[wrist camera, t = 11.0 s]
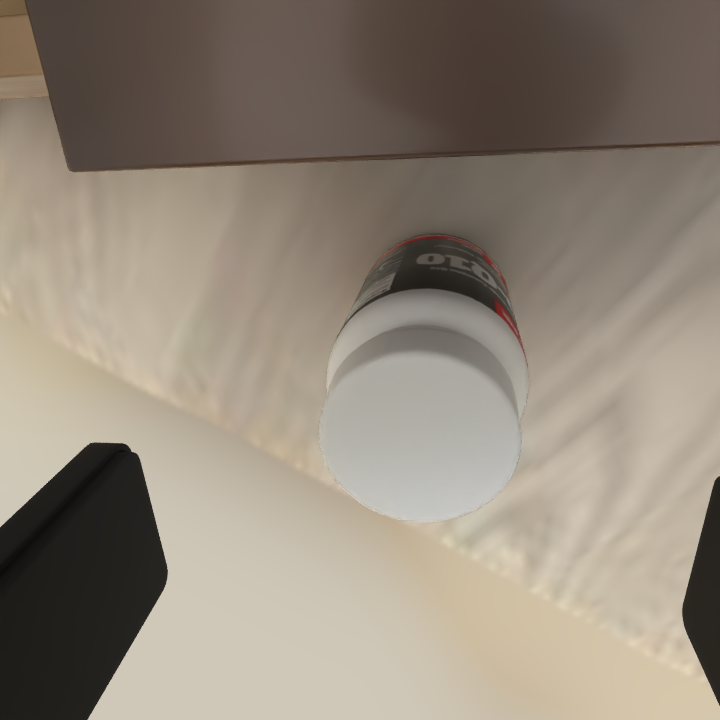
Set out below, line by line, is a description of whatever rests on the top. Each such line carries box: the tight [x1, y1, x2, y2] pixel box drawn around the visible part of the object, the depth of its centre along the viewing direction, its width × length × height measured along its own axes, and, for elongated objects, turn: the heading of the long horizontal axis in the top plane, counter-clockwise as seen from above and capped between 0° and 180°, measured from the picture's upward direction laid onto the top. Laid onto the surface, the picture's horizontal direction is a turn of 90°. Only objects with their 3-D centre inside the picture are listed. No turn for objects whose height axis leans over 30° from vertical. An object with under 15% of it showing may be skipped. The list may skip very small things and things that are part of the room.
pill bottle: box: [319, 235, 529, 522], centre depth 15 cm, size 5×5×8 cm
